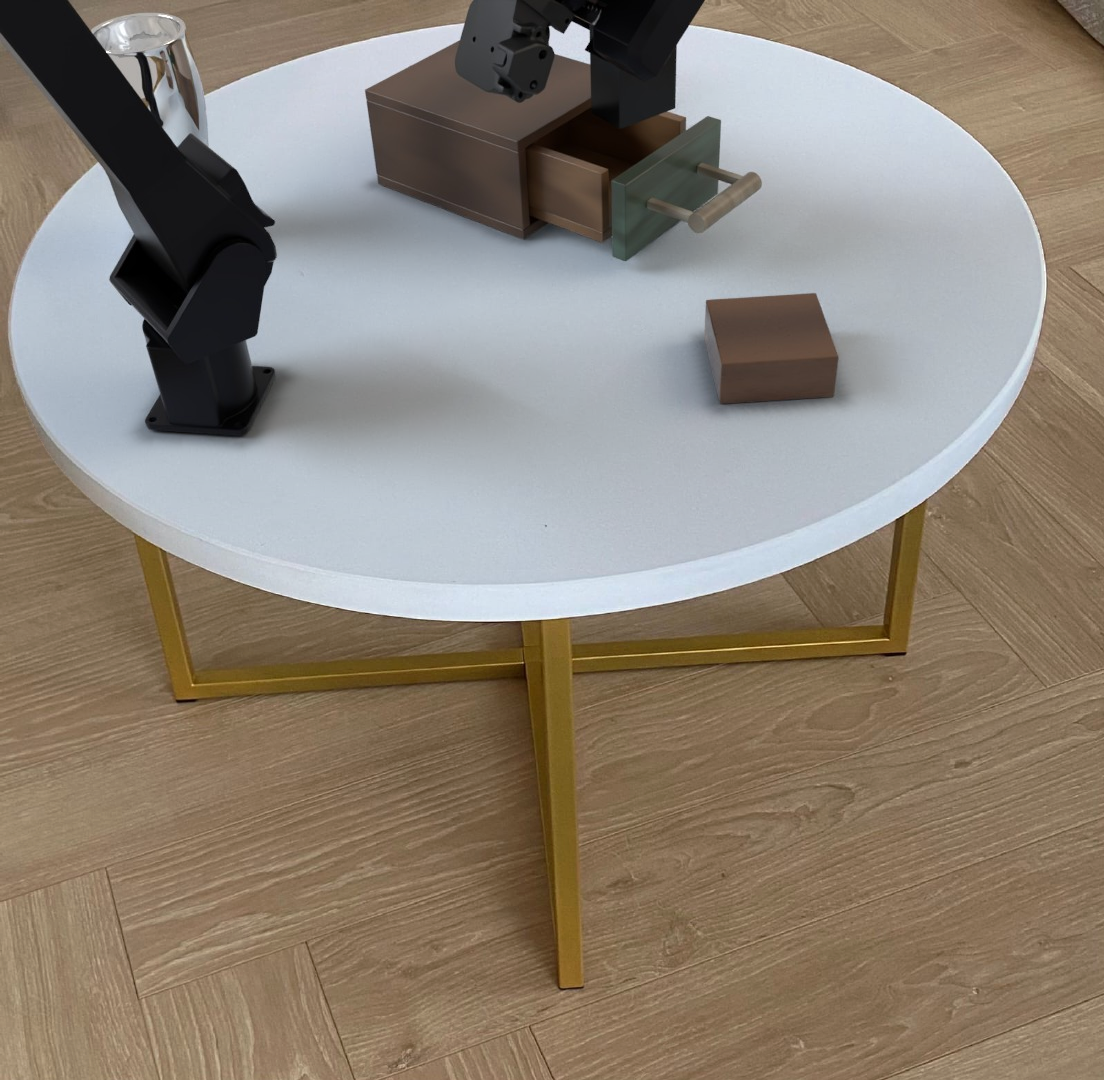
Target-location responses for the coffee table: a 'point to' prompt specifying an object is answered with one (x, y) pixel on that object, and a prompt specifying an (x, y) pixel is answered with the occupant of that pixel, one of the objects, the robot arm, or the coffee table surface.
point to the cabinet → (468, 137)
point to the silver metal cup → (159, 69)
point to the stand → (770, 348)
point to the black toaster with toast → (630, 92)
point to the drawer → (632, 179)
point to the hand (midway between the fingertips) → (649, 50)
